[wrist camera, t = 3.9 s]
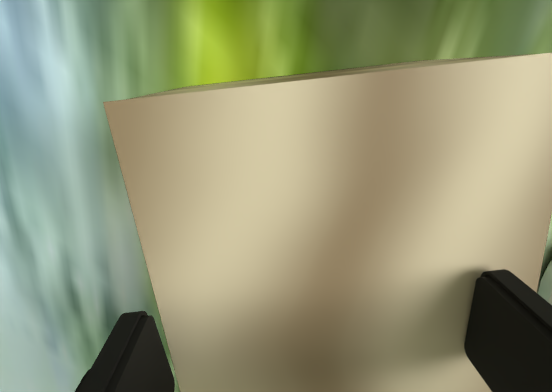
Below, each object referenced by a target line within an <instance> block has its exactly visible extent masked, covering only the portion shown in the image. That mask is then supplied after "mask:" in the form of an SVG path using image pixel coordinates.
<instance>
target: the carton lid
mask: <svg viewBox="0 0 552 392" xmlns="http://www.w3.org/2000/svg"><path fill="white" fill-rule="evenodd" d="M103 103H104V107H105V111H106V115H107V118H108V122H109V126H110V130H111V133H112V137H113V141H114V145H115V148H116V152H117V156H118V160H119V163H120V167H121V171H122V175H123V178H124V182H125V186H126V190H127V193H128V197H129V201H130V205H131V208H132V212H133V216H134V220H135V223H136V227H137V231H138V235H139V238H140V242H141V246H142V250H143V253H144V257H145V261H146V265H147V268H148V272H149V276H150V280H151V283H152V287H153V291H154V295H155V298H156V302H157V306H158V310H159V313H160V317H161V321H162V325H163V328H164V332H165V336H166V340H167V343H168V347H169V351H170V355H171V358H172V362H173V366H174V370H175V373H176V377H177V381H178V385H179V388H180V392H492V391H491V390H490V388H489V387H488V385H487V384H486V383H485V381H484V380H483V378H482V377H481V376H480V374H479V373H478V371H477V370H476V369H475V367H474V366H473V364H472V363H471V362H470V360H469V359H468V357H467V355H466V353H465V349H464V343H465V337H466V332H467V326H468V321H469V316H470V310H471V305H472V299H473V294H474V288H475V283H476V280H477V278H479V277H480V276H481V274H482V273H483V272H485V271H493V270H502V269H506V270H509V271H510V272H512V273H513V274H514V275H515V276H517V277H518V278H519V279H520V280H522V281H523V282H524V283H525V284H526V285H528V286H529V287H530V288H531V289H533V290H534V291H535V292H536V293H537V289H538V283H539V278H540V273H541V267H542V262H543V257H544V251H545V246H546V241H547V235H548V230H549V225H550V219H551V214H552V53H545V54H536V55H527V56H518V57H509V58H500V59H491V60H482V61H472V62H463V63H454V64H445V65H436V66H427V67H418V68H409V69H400V70H391V71H382V72H373V73H364V74H354V75H345V76H336V77H327V78H318V79H309V80H300V81H291V82H282V83H273V84H264V85H255V86H246V87H236V88H227V89H218V90H209V91H200V92H191V93H182V94H173V95H164V96H155V97H146V98H137V99H128V100H118V101H109V102H103Z"/></svg>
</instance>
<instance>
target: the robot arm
mask: <svg viewBox="0 0 552 392" xmlns="http://www.w3.org/2000/svg"><path fill="white" fill-rule="evenodd" d="M464 349H465V353H466V355H467V357H468V359H469V360H470V362H471V363H472V364H473V366H474V367H475V369H476V370H477V371H478V373H479V374H480V376H481V377H482V378H483V380H484V381H485V383H486V384H487V385H488V387H489V388H490V390H491V391H492V392H552V260H551V261H550V263H549V264H548V267H547V269H546V271H545V273H544V275H543V277H542V279H541V282H540V286H539V289H538V293H536V292H535V291H534V290H533V289H531V288H530V287H529V286H528V285H526V284H525V283H524V282H523V281H522V280H520V279H519V278H518V277H517V276H515V275H514V274H513V273H512V272H510V271H509V270H506V269H502V270H493V271H485V272H483V273H482V274H481V276H480V277H479V278H477V280H476V283H475V288H474V294H473V299H472V305H471V310H470V316H469V321H468V326H467V332H466V337H465V343H464ZM174 387H175V383H174V377H173V374H172V371H171V368H170V366H169V363H168V360H167V357H166V354H165V351H164V348H163V345H162V342H161V339H160V336H159V333H158V330H157V327H156V324H155V321H154V318H153V317H152V316H148V315H147V313H146V312H145V311H139V312H130V313H123V314H122V315H121V316H120V318H119V319H118V321H117V323H116V325H115V326H114V328H113V330H112V332H111V334H110V335H109V337H108V339H107V341H106V343H105V344H104V346H103V348H102V350H101V351H100V353H99V355H98V357H97V359H96V360H95V362H94V364H93V366H92V368H91V369H90V370H88V371H87V373H86V374H85V375H84V377H83V378H82V380H81V382H80V384H79V385H78V387H77V389H76V391H75V392H174Z"/></svg>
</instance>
